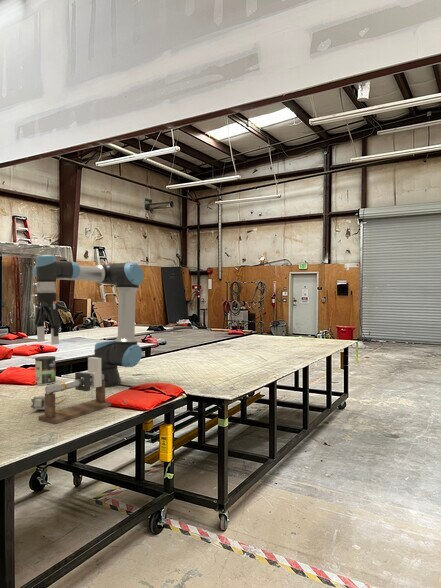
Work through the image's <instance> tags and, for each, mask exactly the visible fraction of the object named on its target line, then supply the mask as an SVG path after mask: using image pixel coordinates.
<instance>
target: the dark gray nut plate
mask: <svg viewBox="0 0 441 588" xmlns="http://www.w3.org/2000/svg"><path fill="white" fill-rule="evenodd" d="M74 377H75V379H74V380H76V379H80V378H84V385H83V386H79V387H75V389H74V390H76V391H80V392H86V393H87V392H90V391H91V387H90V374H88V373H84V372H78V371H77V372H74Z"/></svg>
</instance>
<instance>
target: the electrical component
mask: <svg viewBox="0 0 441 588" xmlns="http://www.w3.org/2000/svg"><path fill="white" fill-rule="evenodd" d="M63 397H65V398H64V399H63V400H61V401H58V402H55V405H57V404H60V403H62V402H64V401H65V400H66V399H68V397H66V394H64V395H60V396H58V397H55V400H56V399H59V398H63ZM30 400H31V406H30V408H31V409H32V410H45V395H39V396H34V397H33V398H32V399H30Z"/></svg>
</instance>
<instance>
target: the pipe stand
mask: <svg viewBox="0 0 441 588" xmlns="http://www.w3.org/2000/svg"><path fill="white" fill-rule="evenodd" d="M44 396H45V409H44V414H41V415H38V421H41V422H45V423H49V424H54V425H58V424H60V423H63V422H66V421H68V420H71V419H75V418H79V417H81V416H84V415H86V414H90V413H93V412H96V411H99V410H102V409H106V408H108V407H111V406H112V402H111V401H107V400H106V387H105V381H103V380H102V386H100V387H96V388H95V398H94V399H91V400H87V401H85V402H81V403H77V404H74V405H71V406H68V407H64V408H61V409H57V410H56V404H55V403H56V399H55V398H56V392H55V393H51V394H47V393H46V392H45V393H44Z"/></svg>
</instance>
